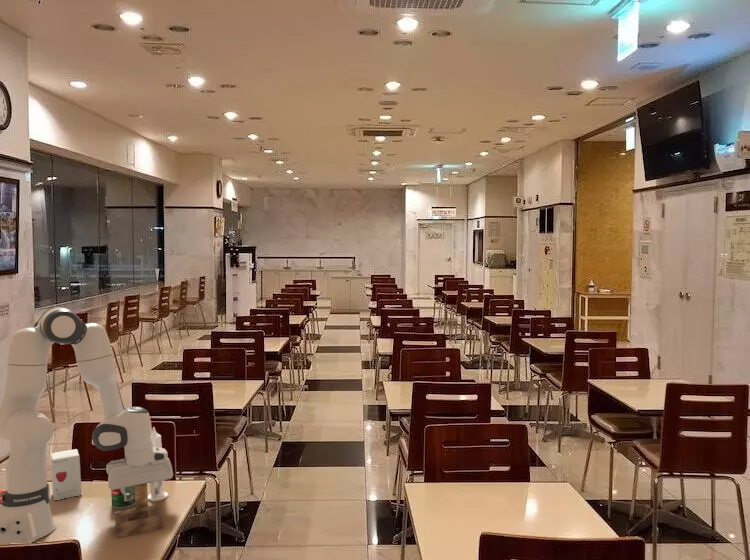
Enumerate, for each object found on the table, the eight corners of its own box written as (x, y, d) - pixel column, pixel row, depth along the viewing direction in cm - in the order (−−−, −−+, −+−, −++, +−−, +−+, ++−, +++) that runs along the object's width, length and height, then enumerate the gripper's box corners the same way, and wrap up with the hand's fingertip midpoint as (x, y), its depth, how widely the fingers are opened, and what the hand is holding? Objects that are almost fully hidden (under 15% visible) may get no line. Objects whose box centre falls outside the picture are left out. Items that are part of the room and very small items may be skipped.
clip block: (117, 537, 200) (116, 528, 200) (115, 521, 212) (114, 512, 212) (162, 528, 205) (161, 519, 205) (157, 513, 217) (157, 504, 217)
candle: (142, 499, 230) (138, 428, 228) (158, 492, 236) (154, 423, 234) (157, 502, 226) (153, 430, 225) (172, 495, 233) (168, 425, 231)
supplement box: (54, 501, 231) (51, 459, 230) (52, 493, 238) (49, 452, 237) (82, 496, 235) (79, 454, 234) (79, 488, 243) (77, 448, 242)
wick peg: (136, 514, 217) (134, 487, 216) (135, 510, 221) (133, 483, 220) (149, 512, 219) (147, 485, 218) (147, 507, 222) (146, 481, 222)
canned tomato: (106, 507, 224) (104, 475, 223) (121, 498, 231) (119, 467, 231) (127, 509, 222) (125, 477, 221) (141, 499, 230) (139, 468, 229)
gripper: (106, 464, 212) (109, 506, 213) (172, 453, 220) (174, 493, 221) (105, 458, 217) (108, 499, 218) (169, 447, 226) (172, 487, 227)
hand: (142, 496), depth 220 cm, fingers open, 8 cm apart
